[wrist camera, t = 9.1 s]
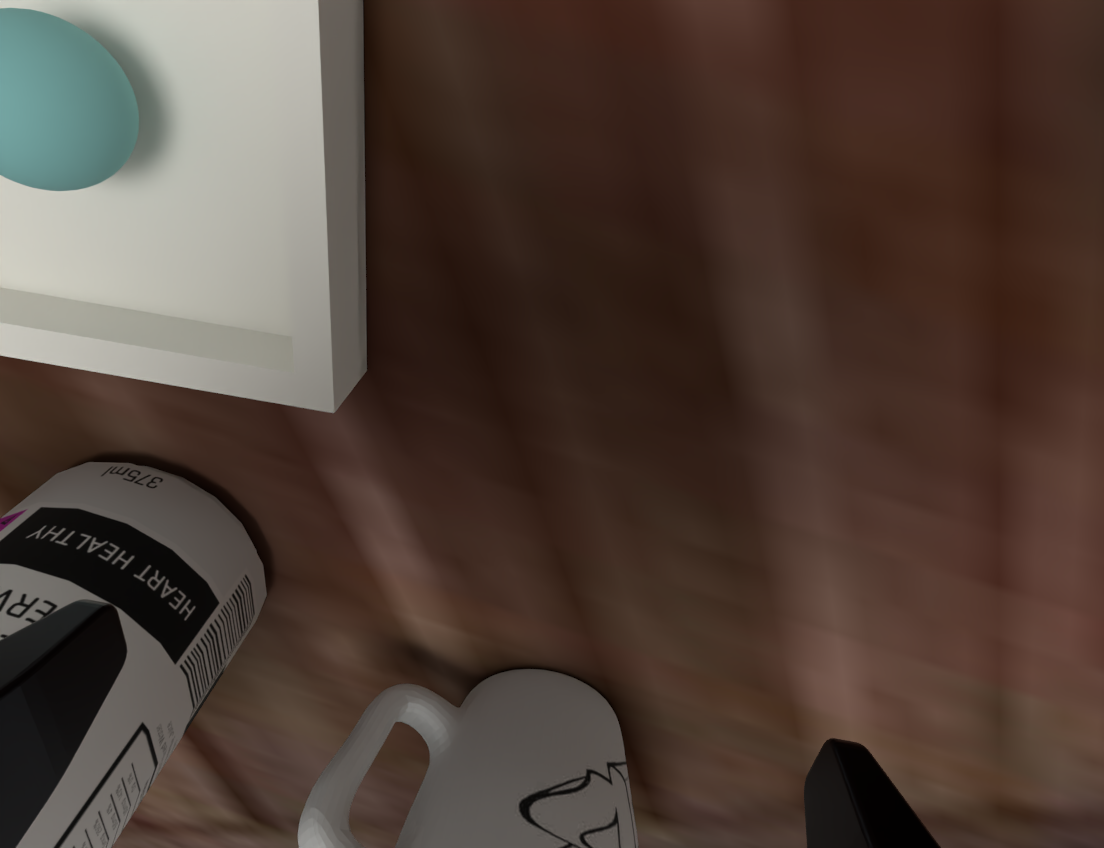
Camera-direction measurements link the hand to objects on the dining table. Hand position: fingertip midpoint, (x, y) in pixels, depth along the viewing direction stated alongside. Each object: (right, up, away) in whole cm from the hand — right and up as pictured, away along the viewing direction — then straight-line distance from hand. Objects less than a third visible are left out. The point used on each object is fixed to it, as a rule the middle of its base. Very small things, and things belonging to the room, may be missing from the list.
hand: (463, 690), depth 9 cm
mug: (-1, -7, +19) cm, 20 cm away
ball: (-10, +11, +8) cm, 17 cm away
